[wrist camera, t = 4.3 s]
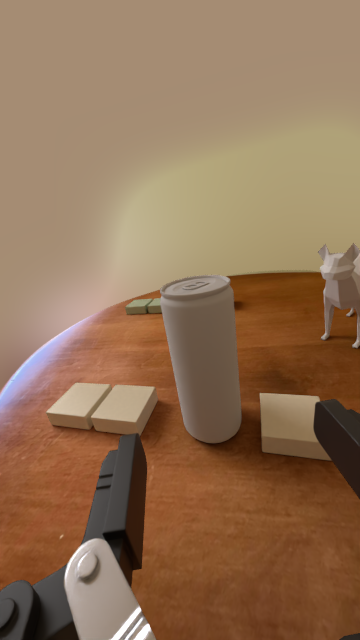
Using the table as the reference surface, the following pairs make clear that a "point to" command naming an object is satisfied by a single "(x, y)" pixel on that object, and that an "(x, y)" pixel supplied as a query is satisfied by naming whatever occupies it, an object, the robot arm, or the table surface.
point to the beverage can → (204, 354)
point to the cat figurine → (341, 285)
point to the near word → (139, 401)
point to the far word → (144, 306)
